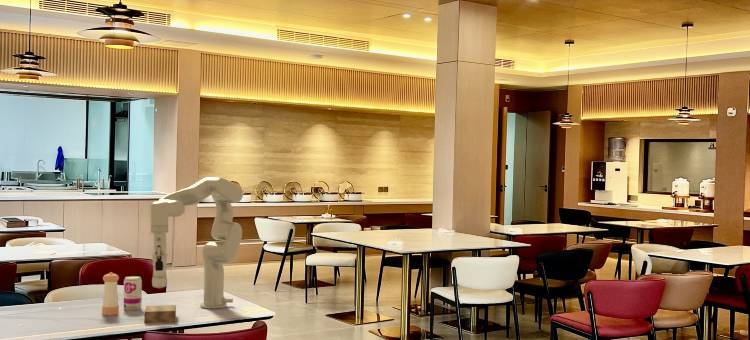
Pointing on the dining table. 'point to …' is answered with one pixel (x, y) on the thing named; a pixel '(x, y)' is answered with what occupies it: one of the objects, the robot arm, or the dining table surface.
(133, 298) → the supplement can
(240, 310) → the dining table surface
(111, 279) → the pepper shaker
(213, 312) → the dining table surface
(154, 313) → the walnut block
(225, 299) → the robot arm
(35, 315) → the dining table surface
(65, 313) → the dining table surface
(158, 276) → the plastic bottle
